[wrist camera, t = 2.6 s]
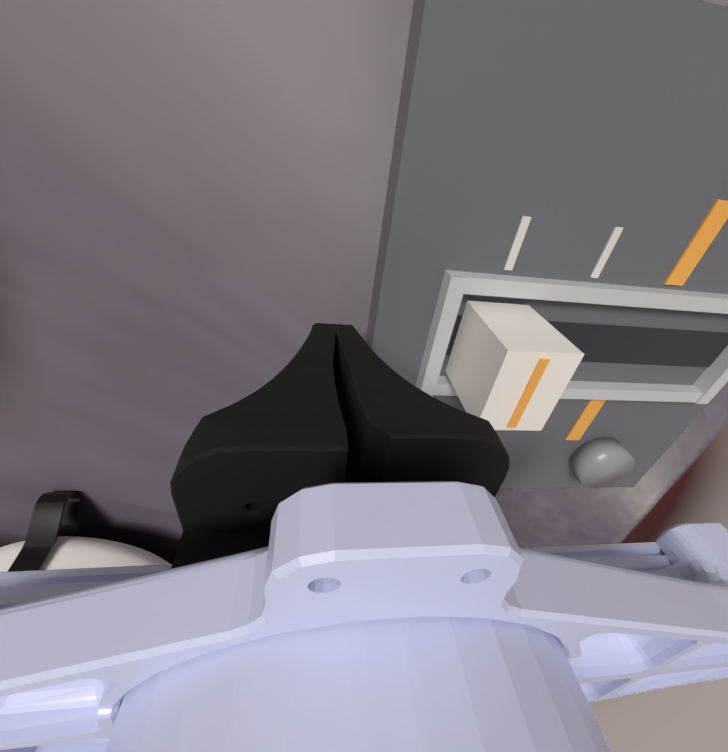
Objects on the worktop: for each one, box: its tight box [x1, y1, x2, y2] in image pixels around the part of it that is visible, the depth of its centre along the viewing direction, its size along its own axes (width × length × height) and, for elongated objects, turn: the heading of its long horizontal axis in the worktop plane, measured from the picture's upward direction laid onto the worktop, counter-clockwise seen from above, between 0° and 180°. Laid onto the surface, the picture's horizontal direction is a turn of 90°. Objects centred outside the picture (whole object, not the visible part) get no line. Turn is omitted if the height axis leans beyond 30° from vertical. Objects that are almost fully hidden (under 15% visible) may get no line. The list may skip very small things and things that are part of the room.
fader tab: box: [446, 301, 585, 431], centre depth 13 cm, size 3×2×4 cm
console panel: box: [366, 0, 728, 489], centre depth 15 cm, size 20×18×3 cm
